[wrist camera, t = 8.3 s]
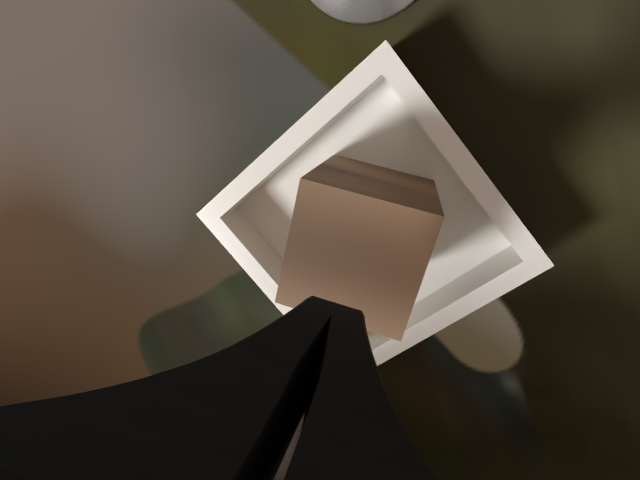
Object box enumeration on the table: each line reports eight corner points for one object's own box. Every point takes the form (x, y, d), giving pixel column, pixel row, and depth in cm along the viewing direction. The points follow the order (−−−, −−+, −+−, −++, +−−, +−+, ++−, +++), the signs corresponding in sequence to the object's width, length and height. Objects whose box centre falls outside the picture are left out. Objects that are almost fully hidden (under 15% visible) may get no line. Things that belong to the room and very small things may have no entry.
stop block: (403, 271, 19) (401, 341, 14) (313, 245, 20) (274, 302, 14) (434, 180, 18) (444, 216, 12) (334, 154, 18) (299, 178, 13)
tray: (535, 243, 18) (554, 265, 16) (351, 353, 22) (344, 384, 19) (389, 48, 17) (385, 40, 14) (221, 201, 21) (196, 214, 18)
